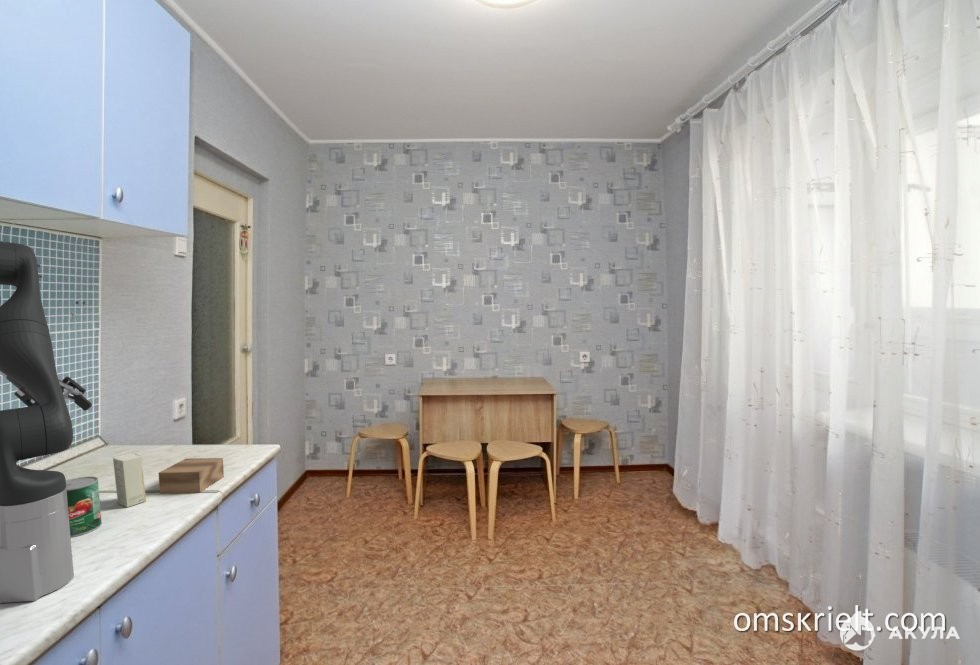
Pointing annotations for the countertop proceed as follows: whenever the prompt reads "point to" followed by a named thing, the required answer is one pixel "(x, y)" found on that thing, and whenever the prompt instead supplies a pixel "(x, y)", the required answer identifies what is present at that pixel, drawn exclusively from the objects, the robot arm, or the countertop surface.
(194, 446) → the countertop surface
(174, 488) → the walnut block
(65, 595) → the countertop surface
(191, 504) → the countertop surface
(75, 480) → the canned tomato
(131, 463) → the skincare box
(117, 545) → the countertop surface
